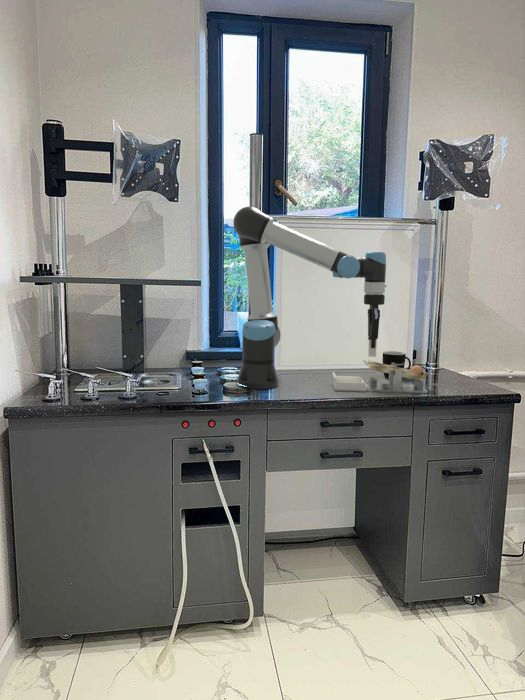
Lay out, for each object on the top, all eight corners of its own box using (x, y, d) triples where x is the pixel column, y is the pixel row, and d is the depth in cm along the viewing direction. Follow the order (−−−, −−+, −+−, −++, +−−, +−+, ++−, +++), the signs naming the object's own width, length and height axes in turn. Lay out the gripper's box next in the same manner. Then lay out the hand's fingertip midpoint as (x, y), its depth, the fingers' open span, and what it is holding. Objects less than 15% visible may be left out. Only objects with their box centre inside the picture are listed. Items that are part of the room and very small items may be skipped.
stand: (368, 391, 181) (369, 369, 180) (363, 384, 192) (364, 364, 191) (427, 393, 180) (429, 371, 179) (419, 386, 191) (421, 365, 190)
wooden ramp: (369, 371, 182) (372, 360, 181) (362, 363, 197) (365, 353, 197) (424, 384, 181) (427, 373, 181) (413, 375, 197) (416, 365, 196)
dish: (334, 390, 181) (335, 378, 181) (332, 383, 192) (332, 372, 192) (366, 391, 181) (367, 378, 180) (362, 384, 192) (362, 372, 191)
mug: (387, 380, 201) (388, 354, 199) (377, 375, 210) (379, 351, 208) (415, 379, 203) (416, 354, 202) (404, 374, 212) (406, 350, 210)
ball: (411, 376, 183) (414, 365, 182) (408, 373, 187) (411, 363, 186) (422, 378, 183) (425, 367, 182) (419, 376, 187) (422, 365, 186)
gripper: (388, 294, 183) (385, 359, 187) (381, 293, 196) (379, 353, 200) (367, 294, 184) (364, 359, 187) (361, 293, 197) (359, 353, 200)
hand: (372, 356), depth 193 cm, fingers closed
